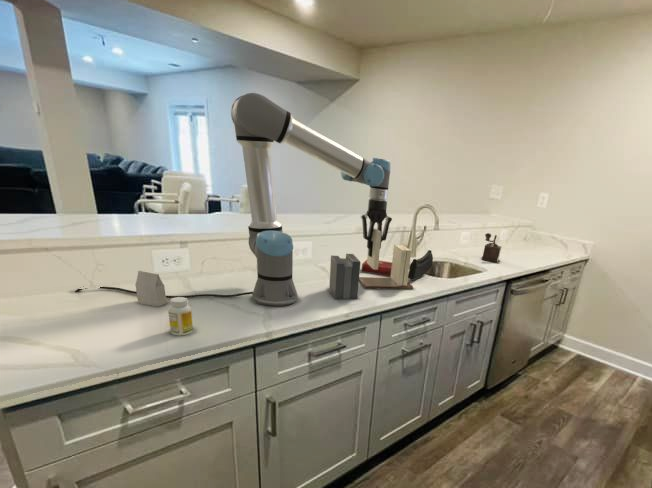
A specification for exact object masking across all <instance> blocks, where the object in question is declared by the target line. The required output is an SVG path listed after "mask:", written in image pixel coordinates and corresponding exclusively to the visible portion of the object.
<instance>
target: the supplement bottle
mask: <svg viewBox="0 0 652 488" xmlns="http://www.w3.org/2000/svg"><path fill="white" fill-rule="evenodd" d="M169 301H170V302H169V304H170V306H169V307H168V309H167V310H168V320H169V328H170V329H169V330H170V333H171V334H173V335H174V336H185V335H189V334H192V333H193V332H194V325H193V314H192V313H193V312H192V308H191V305H189V300H188V298H184V297H175V298H170V300H169Z"/></svg>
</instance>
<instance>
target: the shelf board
mask: <svg viewBox="0 0 652 488" xmlns="http://www.w3.org/2000/svg"><path fill="white" fill-rule="evenodd" d="M359 283H360V284H361V285H362V287H363V288H364V289H365V290H413V289H414V287H413V285H412V284H411V283H409V281H407V286H403V285H402V286H398V285H397V284H396V283H395V282H394V281H393V280H392V279H390V277H376V276H375V277H374V276H373V277H371V276H359Z"/></svg>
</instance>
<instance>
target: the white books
mask: <svg viewBox="0 0 652 488" xmlns="http://www.w3.org/2000/svg"><path fill="white" fill-rule="evenodd" d="M411 256H412V250H411V249H410V248H408V247H407V246H405V245H404V244H395V243H394V244H393V250H392V257H391V258H392V259H391V262H392V267H391V276H389V278H390V279H392V280H393V281H394V282H395V283H396V284H397V285H398V286H402V285H403V286H407V282H409V279H408V274H409V269H410V265H411Z"/></svg>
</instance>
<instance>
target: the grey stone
mask: <svg viewBox="0 0 652 488" xmlns="http://www.w3.org/2000/svg"><path fill="white" fill-rule="evenodd" d="M134 286H135V291H136V292H137V294H136V296H137V303H138V304H143V305H148V306H153V307H160V306H163V305H165V304H167V298H166V296H167V295H166V288H165V284H164V283H163V280H162V279H161V277H160V274H158V273H154V272H150V271H145V270H138V271H137V276H136V280H135V285H134Z"/></svg>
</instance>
